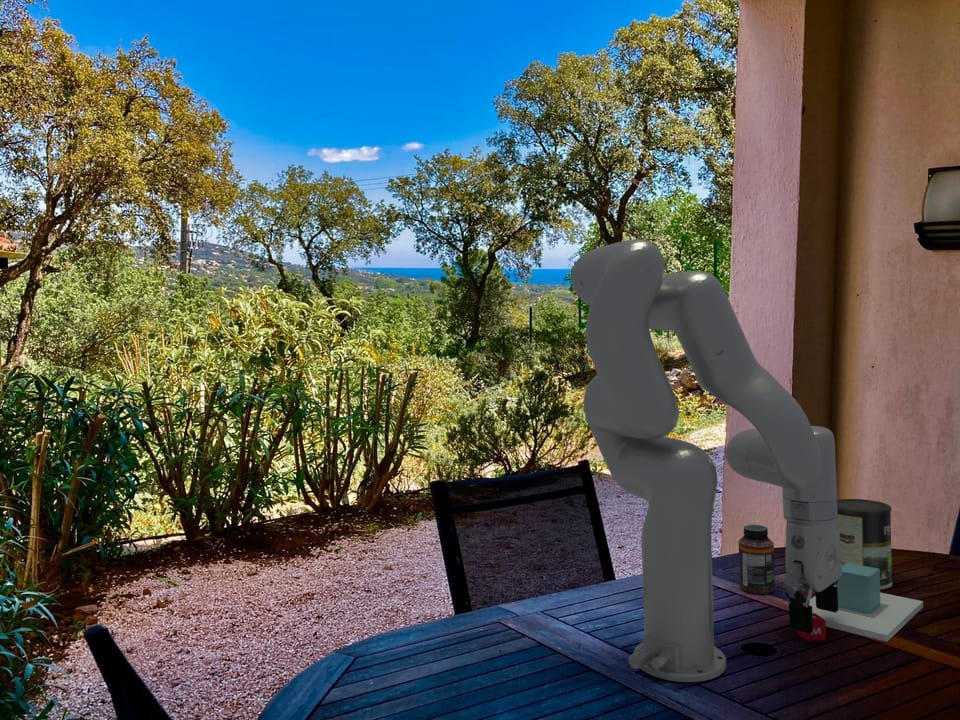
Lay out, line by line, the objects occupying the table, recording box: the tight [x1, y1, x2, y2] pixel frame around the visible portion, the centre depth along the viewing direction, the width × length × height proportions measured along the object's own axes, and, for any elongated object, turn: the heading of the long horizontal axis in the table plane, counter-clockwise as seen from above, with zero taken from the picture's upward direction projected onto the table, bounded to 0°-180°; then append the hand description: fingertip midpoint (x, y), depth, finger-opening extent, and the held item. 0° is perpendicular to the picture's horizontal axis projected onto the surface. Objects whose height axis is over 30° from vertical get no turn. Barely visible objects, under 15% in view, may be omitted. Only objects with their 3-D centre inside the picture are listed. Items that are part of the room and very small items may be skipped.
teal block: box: [836, 563, 881, 614], centre depth 120 cm, size 5×5×6 cm
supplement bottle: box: [738, 524, 776, 595], centre depth 132 cm, size 6×6×11 cm
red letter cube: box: [796, 613, 827, 642], centre depth 111 cm, size 3×3×3 cm
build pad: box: [809, 585, 924, 643], centre depth 120 cm, size 18×14×1 cm
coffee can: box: [837, 498, 893, 591], centre depth 134 cm, size 10×10×14 cm
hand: (814, 620), depth 112 cm, fingers open, 9 cm apart
